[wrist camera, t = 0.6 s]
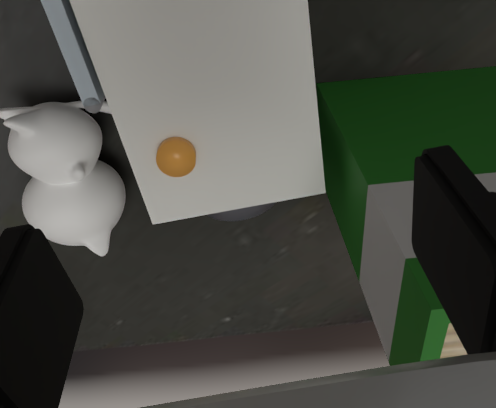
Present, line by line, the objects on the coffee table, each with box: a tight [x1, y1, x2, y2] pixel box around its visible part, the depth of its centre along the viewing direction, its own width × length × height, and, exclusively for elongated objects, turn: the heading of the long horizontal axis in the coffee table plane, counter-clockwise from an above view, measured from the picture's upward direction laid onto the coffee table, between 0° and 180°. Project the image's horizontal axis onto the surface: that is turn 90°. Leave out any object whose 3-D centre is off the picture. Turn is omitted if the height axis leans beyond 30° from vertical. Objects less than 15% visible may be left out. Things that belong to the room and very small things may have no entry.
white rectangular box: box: [69, 0, 326, 224], centre depth 31 cm, size 22×12×11 cm, turn 10°
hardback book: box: [316, 66, 496, 366], centre depth 31 cm, size 18×7×24 cm, turn 94°
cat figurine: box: [0, 101, 126, 256], centre depth 38 cm, size 9×11×12 cm
